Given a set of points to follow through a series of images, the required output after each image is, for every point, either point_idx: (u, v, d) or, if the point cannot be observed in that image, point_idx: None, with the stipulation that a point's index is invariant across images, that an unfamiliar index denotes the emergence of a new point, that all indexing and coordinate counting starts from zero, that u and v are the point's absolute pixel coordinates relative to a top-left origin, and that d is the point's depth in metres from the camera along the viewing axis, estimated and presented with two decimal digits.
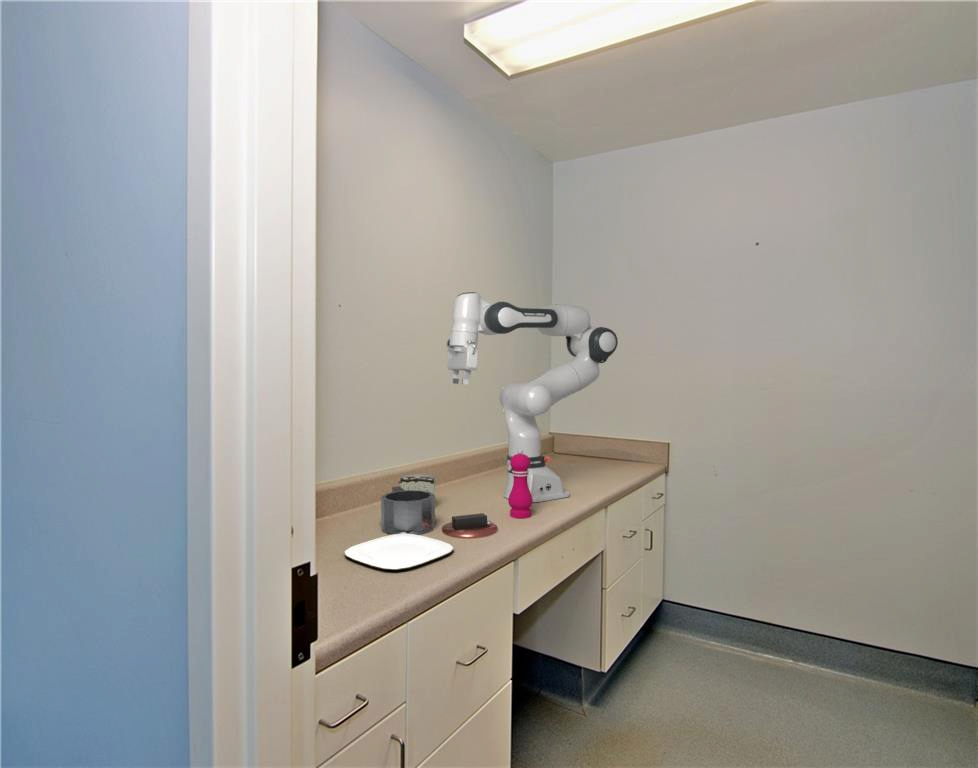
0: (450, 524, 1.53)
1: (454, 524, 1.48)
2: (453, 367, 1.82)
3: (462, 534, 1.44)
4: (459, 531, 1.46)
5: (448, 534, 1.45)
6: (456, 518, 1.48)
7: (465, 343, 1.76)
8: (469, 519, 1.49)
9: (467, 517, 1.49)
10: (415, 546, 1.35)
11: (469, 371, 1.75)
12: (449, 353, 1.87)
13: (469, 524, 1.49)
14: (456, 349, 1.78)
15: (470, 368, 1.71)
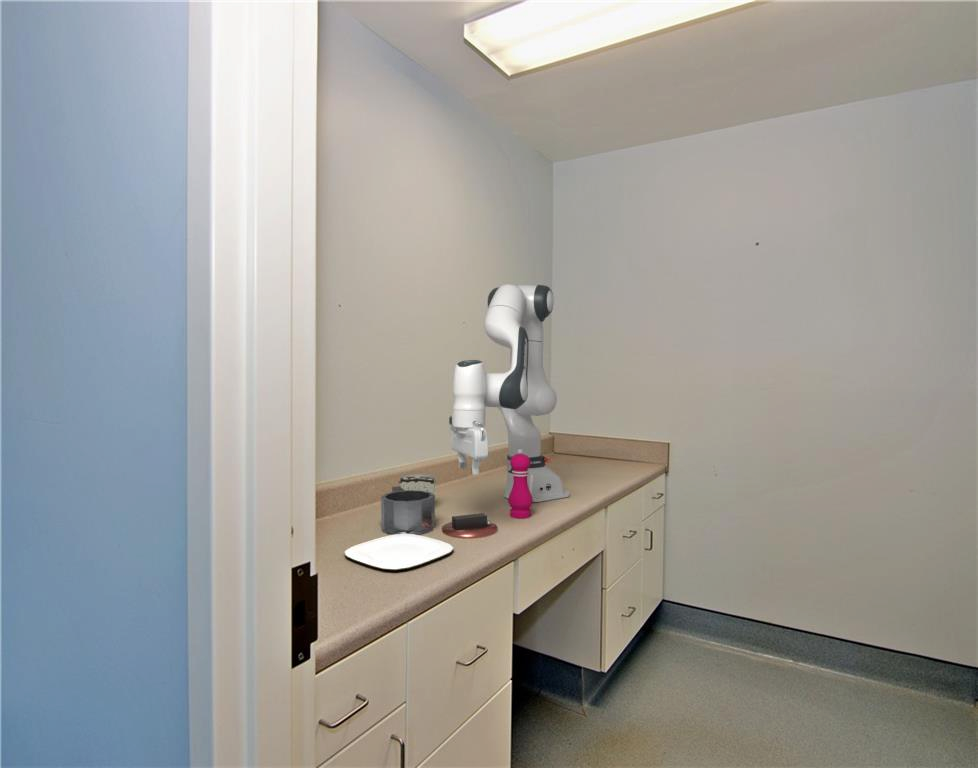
0: (450, 524, 1.54)
1: (454, 524, 1.48)
2: (459, 450, 1.52)
3: (462, 534, 1.44)
4: (459, 531, 1.46)
5: (448, 534, 1.45)
6: (456, 518, 1.48)
7: (471, 424, 1.46)
8: (469, 519, 1.49)
9: (467, 517, 1.49)
10: (415, 546, 1.35)
11: (479, 459, 1.44)
12: (452, 431, 1.56)
13: (469, 524, 1.49)
14: (461, 431, 1.48)
15: (480, 457, 1.41)
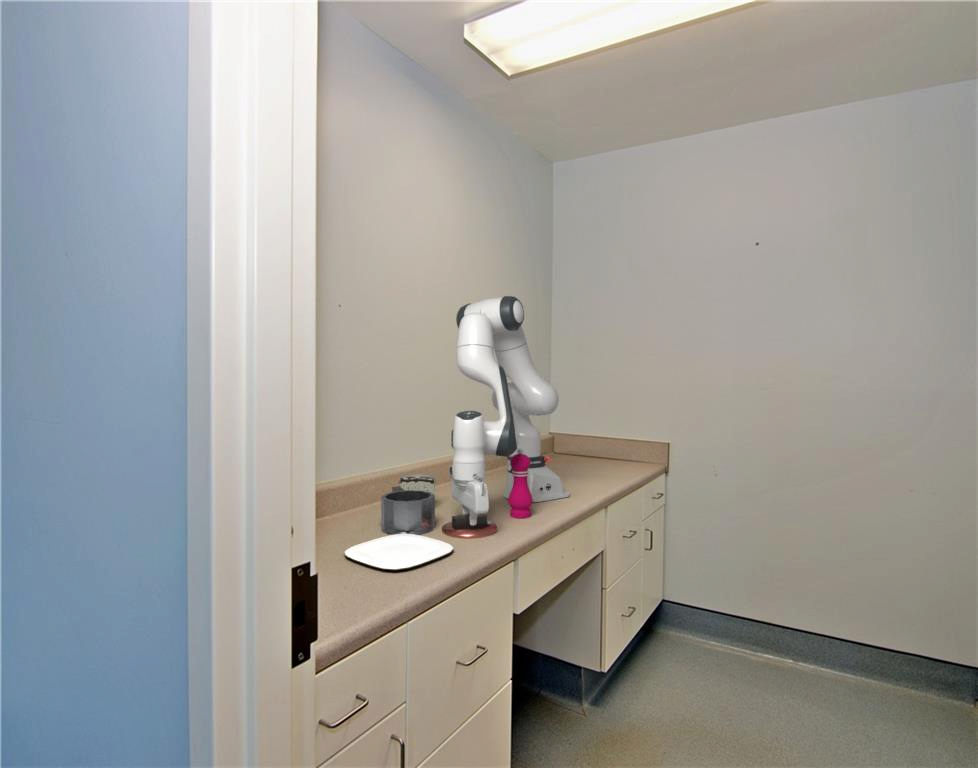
0: (450, 524, 1.54)
1: (454, 523, 1.48)
2: (459, 501, 1.53)
3: (462, 534, 1.44)
4: (458, 531, 1.46)
5: (448, 534, 1.46)
6: (456, 518, 1.48)
7: (471, 477, 1.46)
8: None
9: (467, 517, 1.49)
10: (415, 546, 1.35)
11: None
12: (453, 481, 1.57)
13: None
14: (461, 483, 1.48)
15: (481, 512, 1.41)
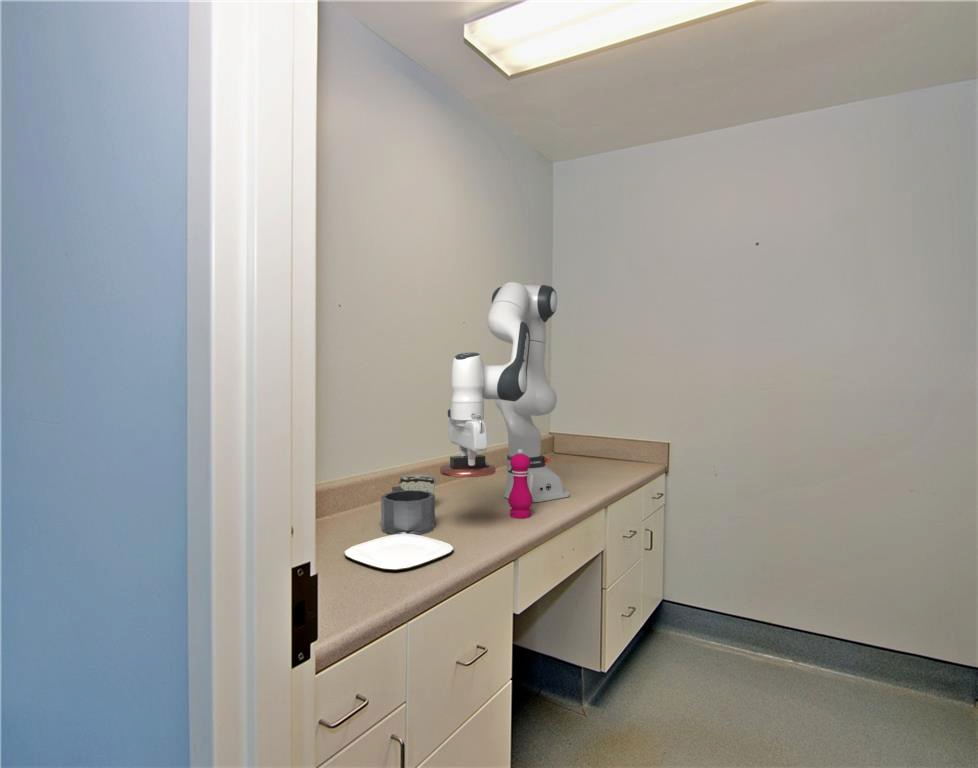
0: (448, 465, 1.53)
1: (452, 463, 1.48)
2: (458, 443, 1.52)
3: (460, 472, 1.44)
4: (457, 470, 1.46)
5: (446, 472, 1.45)
6: (454, 457, 1.48)
7: (470, 417, 1.46)
8: None
9: (465, 457, 1.49)
10: (415, 546, 1.35)
11: None
12: (451, 424, 1.56)
13: None
14: (459, 424, 1.48)
15: (479, 450, 1.41)
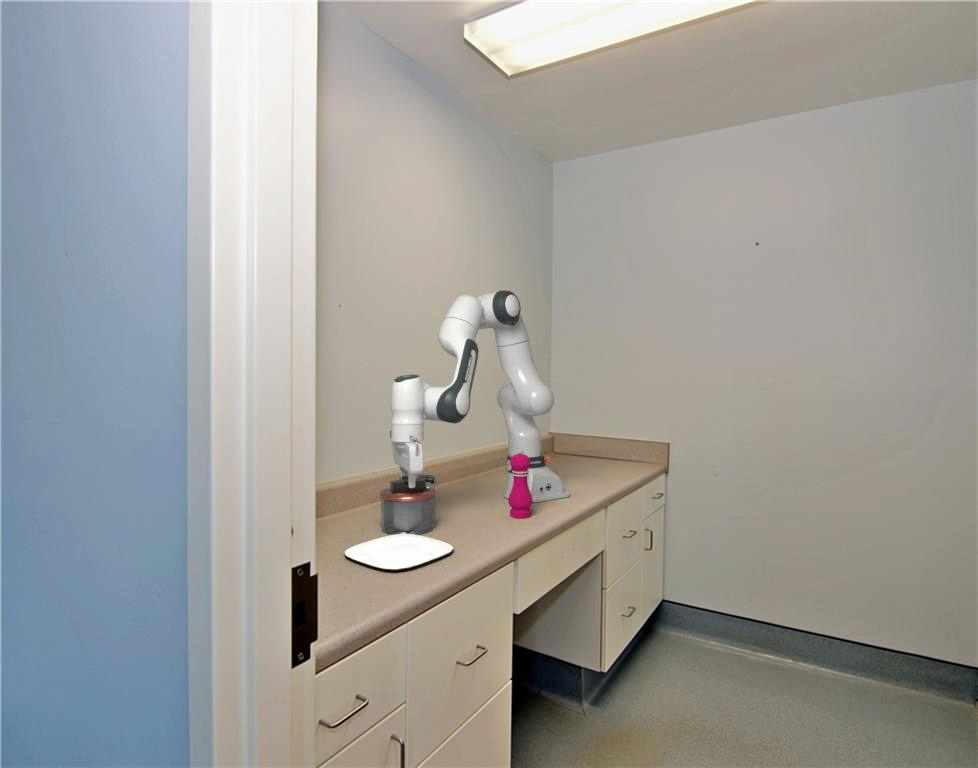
0: (390, 489, 1.55)
1: (392, 487, 1.50)
2: (399, 464, 1.54)
3: (398, 497, 1.46)
4: (395, 494, 1.48)
5: (384, 497, 1.47)
6: (394, 482, 1.50)
7: (408, 439, 1.48)
8: (407, 483, 1.50)
9: (405, 481, 1.51)
10: (415, 546, 1.35)
11: None
12: (394, 445, 1.58)
13: (407, 487, 1.51)
14: (398, 445, 1.50)
15: (415, 472, 1.43)
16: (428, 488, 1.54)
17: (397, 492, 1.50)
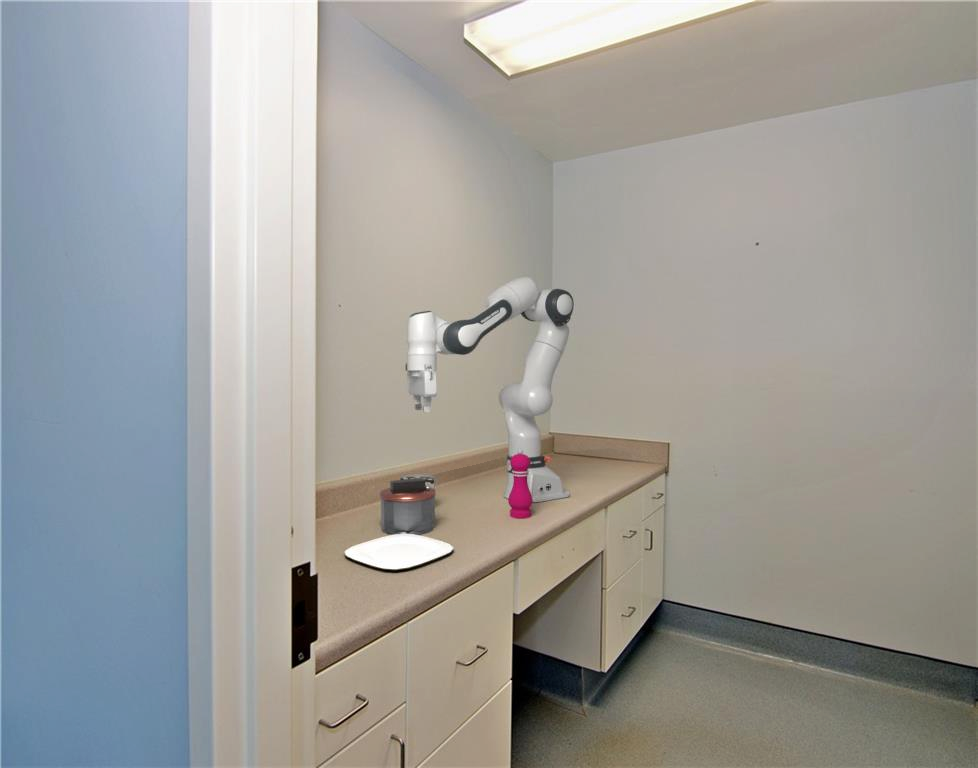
0: (390, 489, 1.55)
1: (392, 487, 1.50)
2: (413, 393, 1.70)
3: (398, 497, 1.46)
4: (395, 494, 1.48)
5: (384, 497, 1.47)
6: (394, 482, 1.50)
7: (422, 367, 1.63)
8: (407, 483, 1.50)
9: (405, 481, 1.51)
10: (415, 546, 1.35)
11: (429, 397, 1.62)
12: (409, 377, 1.74)
13: (407, 487, 1.51)
14: (414, 374, 1.65)
15: (429, 395, 1.58)
16: (428, 488, 1.54)
17: (397, 492, 1.50)
